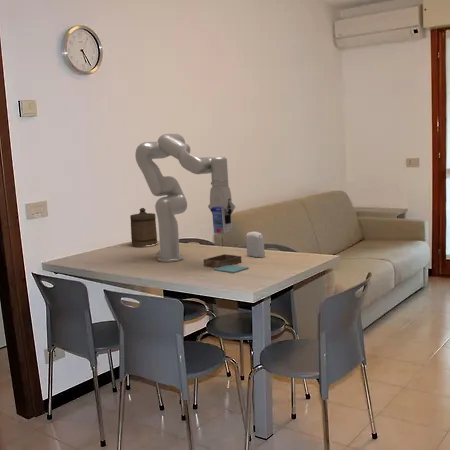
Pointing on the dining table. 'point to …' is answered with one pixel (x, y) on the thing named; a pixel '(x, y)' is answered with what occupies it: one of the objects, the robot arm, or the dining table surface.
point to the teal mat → (231, 268)
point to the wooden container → (143, 228)
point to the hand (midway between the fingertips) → (222, 222)
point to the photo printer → (255, 244)
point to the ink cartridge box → (220, 220)
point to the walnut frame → (222, 260)
